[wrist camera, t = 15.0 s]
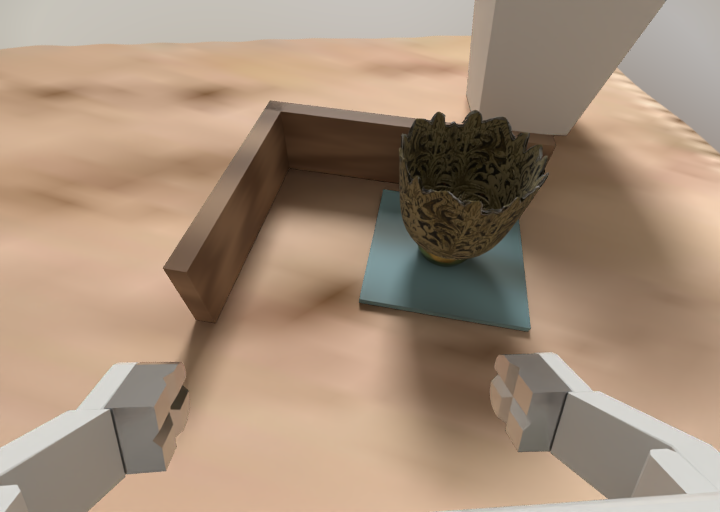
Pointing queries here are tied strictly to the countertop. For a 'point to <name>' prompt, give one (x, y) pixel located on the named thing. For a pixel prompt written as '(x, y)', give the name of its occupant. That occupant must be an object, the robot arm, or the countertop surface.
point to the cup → (465, 184)
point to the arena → (390, 240)
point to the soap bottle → (548, 57)
